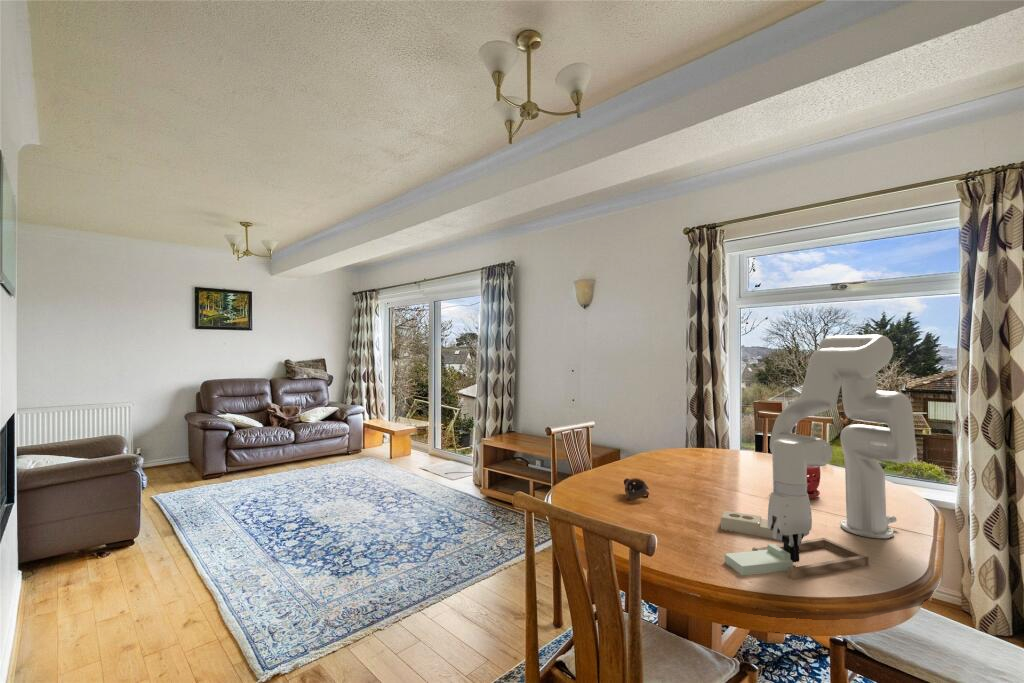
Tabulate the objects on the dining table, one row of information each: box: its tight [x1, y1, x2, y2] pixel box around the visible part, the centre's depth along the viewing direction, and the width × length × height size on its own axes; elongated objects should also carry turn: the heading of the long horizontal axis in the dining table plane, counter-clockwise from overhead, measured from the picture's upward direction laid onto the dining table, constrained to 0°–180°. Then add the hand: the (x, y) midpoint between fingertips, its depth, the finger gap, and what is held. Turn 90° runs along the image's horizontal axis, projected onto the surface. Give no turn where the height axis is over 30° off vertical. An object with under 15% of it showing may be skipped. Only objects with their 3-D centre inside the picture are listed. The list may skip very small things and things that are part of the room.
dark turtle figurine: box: [623, 477, 650, 500], centre depth 172 cm, size 12×10×8 cm
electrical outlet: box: [720, 510, 787, 540], centre depth 139 cm, size 7×4×18 cm
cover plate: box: [724, 543, 794, 576], centre depth 117 cm, size 14×7×4 cm, turn 100°
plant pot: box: [807, 467, 821, 500], centre depth 172 cm, size 13×13×12 cm
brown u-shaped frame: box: [751, 537, 870, 580], centre depth 120 cm, size 24×12×2 cm, turn 106°
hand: (791, 559), depth 118 cm, fingers closed
